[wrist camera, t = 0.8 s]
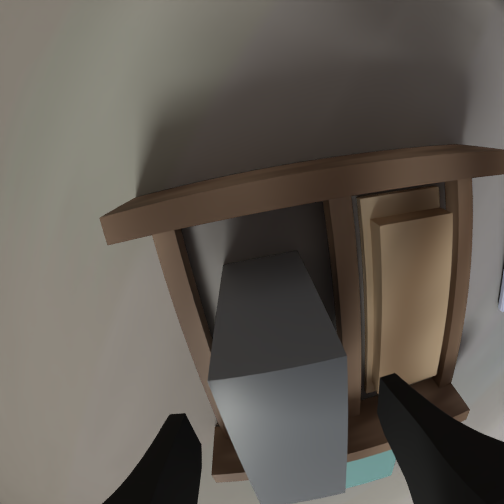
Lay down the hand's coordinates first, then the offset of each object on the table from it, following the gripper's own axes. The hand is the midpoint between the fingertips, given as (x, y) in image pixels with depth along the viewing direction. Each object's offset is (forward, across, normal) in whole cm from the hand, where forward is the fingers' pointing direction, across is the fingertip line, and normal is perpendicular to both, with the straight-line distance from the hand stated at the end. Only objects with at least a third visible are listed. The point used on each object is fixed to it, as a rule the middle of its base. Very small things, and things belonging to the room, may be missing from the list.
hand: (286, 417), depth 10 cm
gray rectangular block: (+6, 0, 0) cm, 6 cm away
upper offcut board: (+6, -7, 0) cm, 9 cm away
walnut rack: (+6, -3, 0) cm, 7 cm away
